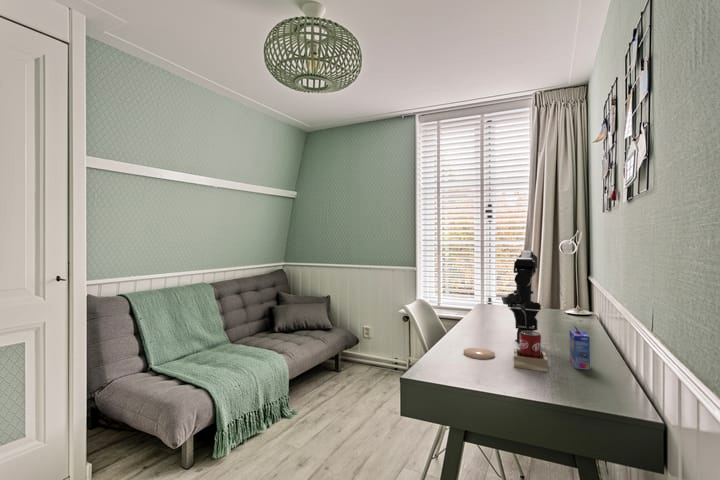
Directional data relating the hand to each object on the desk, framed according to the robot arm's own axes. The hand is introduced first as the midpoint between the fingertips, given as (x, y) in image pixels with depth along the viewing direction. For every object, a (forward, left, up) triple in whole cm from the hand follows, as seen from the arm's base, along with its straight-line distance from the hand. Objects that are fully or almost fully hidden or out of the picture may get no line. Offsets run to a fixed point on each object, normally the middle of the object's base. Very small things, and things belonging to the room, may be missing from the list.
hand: (522, 326), depth 157 cm
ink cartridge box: (-12, +17, -12) cm, 23 cm away
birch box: (+6, +12, -11) cm, 17 cm away
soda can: (+6, +12, -12) cm, 17 cm away
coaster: (+17, -4, -11) cm, 21 cm away
